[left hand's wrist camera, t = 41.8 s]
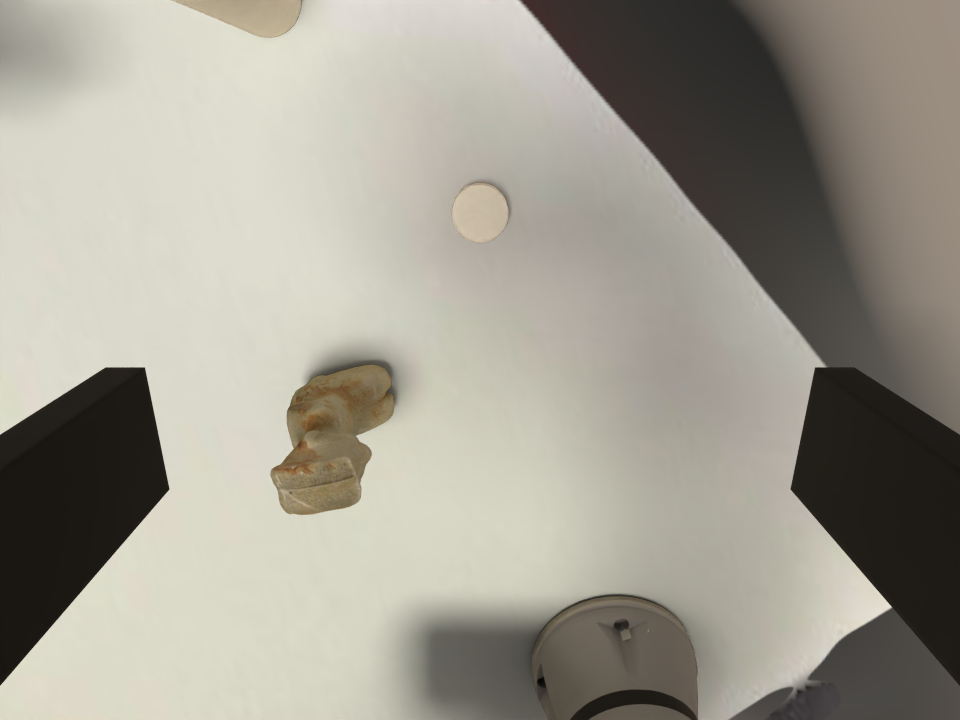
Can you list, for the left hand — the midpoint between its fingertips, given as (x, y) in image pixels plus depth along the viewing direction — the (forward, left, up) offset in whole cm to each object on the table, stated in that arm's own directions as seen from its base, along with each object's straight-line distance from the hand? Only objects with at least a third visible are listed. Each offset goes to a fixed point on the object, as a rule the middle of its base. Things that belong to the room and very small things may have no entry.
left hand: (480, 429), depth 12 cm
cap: (0, 0, -33) cm, 33 cm away
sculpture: (-2, +17, -35) cm, 39 cm away
